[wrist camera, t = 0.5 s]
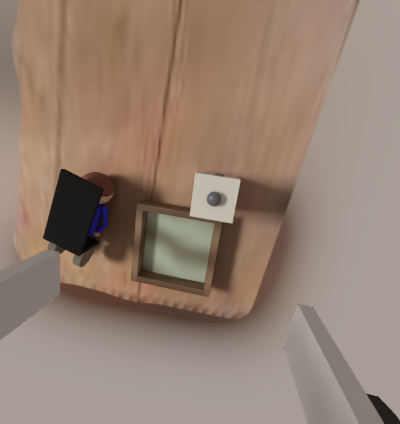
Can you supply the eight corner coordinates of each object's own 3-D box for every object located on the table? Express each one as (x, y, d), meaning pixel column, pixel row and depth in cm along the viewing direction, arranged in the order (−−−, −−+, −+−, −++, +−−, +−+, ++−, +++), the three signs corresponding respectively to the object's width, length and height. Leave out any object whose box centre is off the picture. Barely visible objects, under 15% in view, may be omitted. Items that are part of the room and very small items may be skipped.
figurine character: (105, 253, 38) (128, 181, 33) (75, 277, 31) (98, 190, 26) (74, 237, 39) (92, 163, 33) (37, 257, 31) (52, 167, 26)
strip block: (204, 171, 31) (194, 172, 22) (236, 176, 31) (241, 179, 22) (199, 203, 33) (188, 217, 23) (230, 208, 32) (232, 225, 23)
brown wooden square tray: (144, 200, 34) (137, 203, 31) (223, 213, 32) (223, 218, 29) (138, 271, 36) (130, 280, 34) (210, 286, 35) (208, 297, 32)
